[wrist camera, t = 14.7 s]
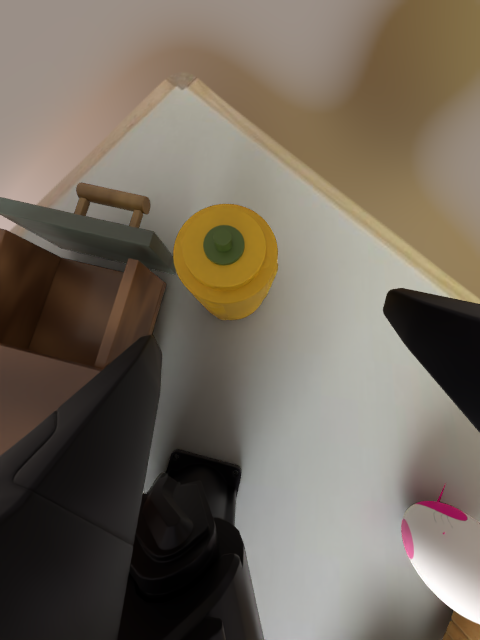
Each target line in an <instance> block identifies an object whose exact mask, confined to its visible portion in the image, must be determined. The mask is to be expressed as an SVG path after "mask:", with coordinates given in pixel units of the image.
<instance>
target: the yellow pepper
mask: <svg viewBox="0 0 480 640" xmlns="http://www.w3.org/2000/svg"><path fill="white" fill-rule="evenodd" d="M277 259H278V248H277V242H276V239H275V236H274V233H273V232H272V230H271V228H270V226H269V225H268V224H267V222H266V221H265V220H264V219H263V218H262V217H261V216H259V215H258V214H257V213H255V212H254V211H252V210H250V209H248V208H246V207H243V206H239V205H234V204H218V205H213V206H210V207H207V208H204V209H202V210H200V211H199V212H197V213H195V214H194V215H193V216H191V217H190V218H189V219H188V220H187V221H186V222H185V224H184V225H183V226H182V228H181V229H180V231H179V233H178V235H177V237H176V240H175V244H174V251H173V260H174V266H175V269H176V272H177V274H178V276H179V278H180V280H181V281H182V283H183V284H184V285H185V287H186V288H187V289H188V290H189V291H190V292H191V293H192V294H193V295H194V296H195V297H196V299H197V300H198V301H199V302H200V303H201V304H202V305H203V306H204V307H205V308H206V309H207V310H208V311H209V312H210V313H211V314H213V315H214V316H216V317H217V318H218V319H220V320H237V319H241V318H244V317H247V316H249V315H250V314H252V313H253V312H254V311H255V310H256V309H257V308H258V307H259V306H260V304H261V303H262V301H263V299H264V298H265V297H266V296H267V294H268V292H269V289H270V287H271V285H272V282H273V280H274V278H275V276H276V273H277V270H278V263H277Z"/></svg>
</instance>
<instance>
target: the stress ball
mask: <svg viewBox="0 0 480 640" xmlns="http://www.w3.org/2000/svg"><path fill="white" fill-rule="evenodd" d="M445 484H446V483H445ZM444 487H445V485H444ZM443 490H444V488H443ZM443 490H442V492H441V494H440V496H439V498H438V500H437V502H435V501H421V502H418V503H415V504H413V505H412V506H410V507H409V508H408V509H407V510H406V512H405V514H404V516H403V519H402V525H401V532H402V539H403V543H404V546H405V549H406V552H407V554H408V557H409V559H410V561H411V563H412V564H413V566H414V568H415V570H416V571H417V573H418V574H419V576H420V577H421V578H422V580H423V581H424V582H425V584H426V585H427V586H428V587H429V588H430V589H431V590H432V592H433V593H434V594H435V595H436V596H437V597H438V598H440V599H441V600H442V601H443V602H444V603H445V604H446V605H448V606H449V607H450V608H451V609H453V610H454V611H456V612H457V613H459V614H460V615H462V616H463V617H465V618H467V619H469V620H471V621H473V622H475V623H478V624H480V523H479V522H478V521H476V520H475V519H474V518H472V517H471V516H469V515H468V514H466V513H464V512H463V511H461V510H459V509H457V508H455V507H452V506H450V505H448V504H444V503H441V502H440V499H441V496H442V493H443Z"/></svg>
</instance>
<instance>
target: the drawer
mask: <svg viewBox="0 0 480 640" xmlns="http://www.w3.org/2000/svg"><path fill="white" fill-rule="evenodd" d="M76 191H77V195H78V197H79V201H78V204H77V207H76V209H75V212H74V214H73V213H69V212H64V211H60V210H55V209H51V208H47V207H42V206H38V205H33V204H29V203H24V202H20V201H15V200H10V199H6V198H1V197H0V215H2V216H4V217H5V218H7V219H9V220H11V221H13V222H14V223H16V224H18V225H20V226H22V227H23V228H25V229H27V230H29V231H31V232H33V233H34V234H36V235H38V236H40V237H42V238H43V239H45V240H47V241H49V242H51V243H52V244H54V245H56V246H58V247H60V248H62V249H66V250H70V251H75V252H79V253H83V254H88V255H92V256H96V257H101V258H105V259H109V260H113V261H118V262H122V263H126V267H125V270H124V272H121V271H116V270H112V269H108V268H104V267H99V266H95V265H91V264H87V263H82V262H78V261H74V260H69V259H65V258H61V257H59V256H57V255H55V254H53V253H51V252H49V251H47V250H45V249H43V248H41V247H39V246H37V245H35V244H33V243H31V242H29V241H27V240H25V239H23V238H21V237H19V236H17V235H15V234H13V233H11V232H9V231H7V230H4V229H0V343H3V344H6V345H10V346H14V347H18V348H22V349H26V350H30V351H34V352H38V353H42V354H45V355H49V356H53V357H57V358H61V359H65V360H69V361H73V362H77V363H81V364H85V365H88V366H92V367H96V368H100V369H104V368H105V367H106V366H107V365H109V364H110V363H111V362H112V361H113V360H114V359H116V358H117V357H118V356H119V355H120V354H121V353H123V352H124V351H125V350H126V349H127V348H128V347H130V346H131V345H132V344H133V343H134V342H135V341H137V340H138V339H139V338H140V337H142V336H147V335H152V332H153V329H154V325H155V322H156V318H157V315H158V312H159V308H160V305H161V301H162V298H163V294H164V291H165V288H166V283H165V282H163V281H162V280H161V279H160V278H159V277H158V276H156V275H155V274H154V273H153V272H152V271H150V270H149V269H152V270H157V271H161V272H165V273H169V274H174V275H175V274H176V269H175V266H174V260H173V256H172V255H171V253H170V252H169V251H168V249H167V248H166V247H165V245H164V244H163V243H162V242H161V240H160V239H159V238H158V236H157V235H156V234H155V232H154V231H149V230H145V229H140V228H139V227H140V223H141V220H142V217H143V214H148V213H149V211H150V200H149V198H148V197H146V196H141V195H136V194H132V193H127V192H123V191H118V190H113V189H109V188H104V187H100V186H95V185H90V184H86V183H79V184H78V185H77V188H76ZM90 202H93V203H97V204H102V205H106V206H111V207H115V208H120V209H124V210H129V211H133V215H132V218H131V221H130V224H129V226H127V225H122V224H118V223H113V222H109V221H105V220H100V219H96V218H91V217H87V216H86V213H87V211H88V208H89V205H90Z"/></svg>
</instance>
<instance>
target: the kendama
mask: <svg viewBox="0 0 480 640" xmlns="http://www.w3.org/2000/svg"><path fill="white" fill-rule="evenodd" d="M451 618H452V621H450V622H449V624H448V627H447V629H446V633H445V634H444V637H443V639H442V640H480V624H478V623H475V622H473V621H471V620H469V619H467V618H465V617H463V616H462V615H460V614H459V613H457V612H456V611H453V614H452V617H451Z"/></svg>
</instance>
